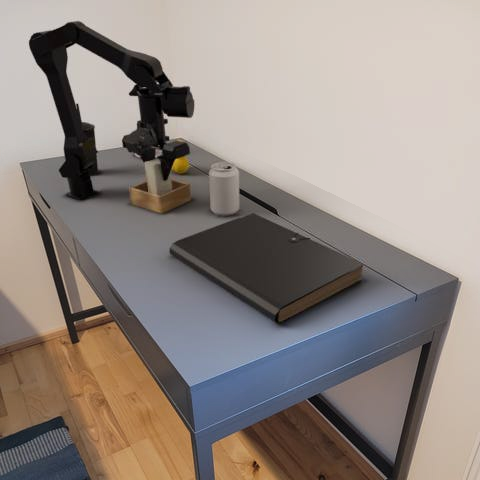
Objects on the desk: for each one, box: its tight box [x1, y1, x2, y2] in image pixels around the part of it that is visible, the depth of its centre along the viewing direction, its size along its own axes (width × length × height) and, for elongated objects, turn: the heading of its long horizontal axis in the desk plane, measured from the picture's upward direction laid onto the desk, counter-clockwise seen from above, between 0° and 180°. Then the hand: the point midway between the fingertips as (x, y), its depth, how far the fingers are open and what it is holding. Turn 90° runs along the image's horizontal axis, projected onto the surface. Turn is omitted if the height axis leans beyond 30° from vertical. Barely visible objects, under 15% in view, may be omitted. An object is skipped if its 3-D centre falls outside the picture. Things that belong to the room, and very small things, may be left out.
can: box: [208, 161, 240, 217], centre depth 121 cm, size 8×8×12 cm
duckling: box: [171, 139, 190, 175], centre depth 147 cm, size 11×5×10 cm, turn 22°
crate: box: [128, 178, 192, 215], centre depth 129 cm, size 11×11×4 cm
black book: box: [169, 212, 365, 324], centre depth 99 cm, size 33×4×24 cm
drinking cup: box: [75, 103, 99, 176], centre depth 144 cm, size 8×8×20 cm
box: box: [143, 158, 172, 196], centre depth 127 cm, size 5×4×11 cm
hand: (158, 178), depth 127 cm, fingers closed on box, 4 cm apart
